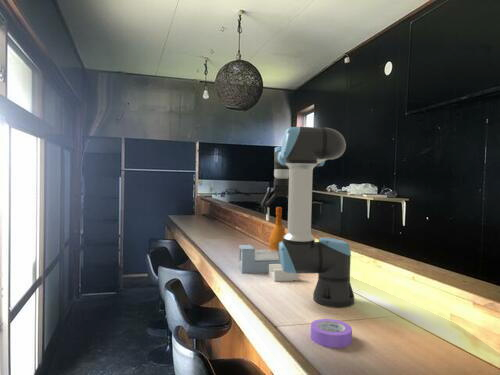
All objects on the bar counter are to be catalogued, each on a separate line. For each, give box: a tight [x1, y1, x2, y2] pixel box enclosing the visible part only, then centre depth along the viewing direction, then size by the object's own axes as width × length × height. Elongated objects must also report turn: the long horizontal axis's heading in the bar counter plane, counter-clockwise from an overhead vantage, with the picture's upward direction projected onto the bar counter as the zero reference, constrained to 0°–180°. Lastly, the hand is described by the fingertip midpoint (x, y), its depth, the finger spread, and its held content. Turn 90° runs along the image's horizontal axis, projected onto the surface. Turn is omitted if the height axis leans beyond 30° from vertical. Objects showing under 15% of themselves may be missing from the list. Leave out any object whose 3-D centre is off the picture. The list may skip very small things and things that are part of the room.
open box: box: [238, 244, 281, 274], centre depth 185 cm, size 10×22×12 cm, turn 101°
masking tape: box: [310, 318, 353, 349], centre depth 108 cm, size 12×12×4 cm
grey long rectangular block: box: [241, 249, 279, 262], centre depth 185 cm, size 18×6×6 cm, turn 101°
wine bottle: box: [268, 206, 286, 257], centre depth 202 cm, size 10×10×30 cm
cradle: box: [268, 264, 299, 282], centre depth 172 cm, size 11×11×5 cm
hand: (280, 220), depth 187 cm, fingers open, 13 cm apart
